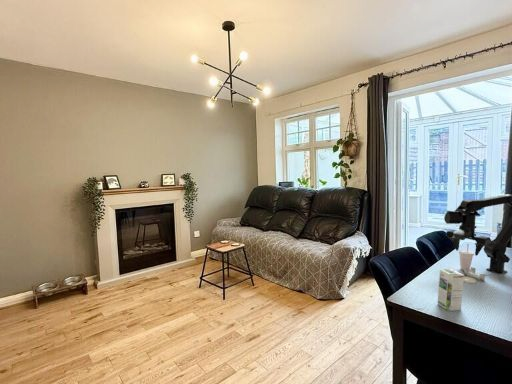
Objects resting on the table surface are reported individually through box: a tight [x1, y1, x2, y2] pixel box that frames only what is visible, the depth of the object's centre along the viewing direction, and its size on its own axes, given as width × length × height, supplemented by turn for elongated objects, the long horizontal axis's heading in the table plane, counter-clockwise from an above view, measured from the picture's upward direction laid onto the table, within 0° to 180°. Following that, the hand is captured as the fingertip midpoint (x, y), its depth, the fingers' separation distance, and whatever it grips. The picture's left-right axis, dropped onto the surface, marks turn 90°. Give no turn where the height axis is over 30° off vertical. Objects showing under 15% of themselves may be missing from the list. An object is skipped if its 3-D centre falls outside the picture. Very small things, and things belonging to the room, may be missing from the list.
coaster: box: [463, 276, 478, 284], centre depth 133 cm, size 8×8×1 cm
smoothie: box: [458, 243, 475, 271], centre depth 145 cm, size 6×6×14 cm
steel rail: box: [463, 266, 486, 283], centre depth 136 cm, size 7×9×3 cm
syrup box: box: [437, 268, 464, 312], centre depth 107 cm, size 6×6×14 cm
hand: (466, 252), depth 145 cm, fingers open, 9 cm apart
